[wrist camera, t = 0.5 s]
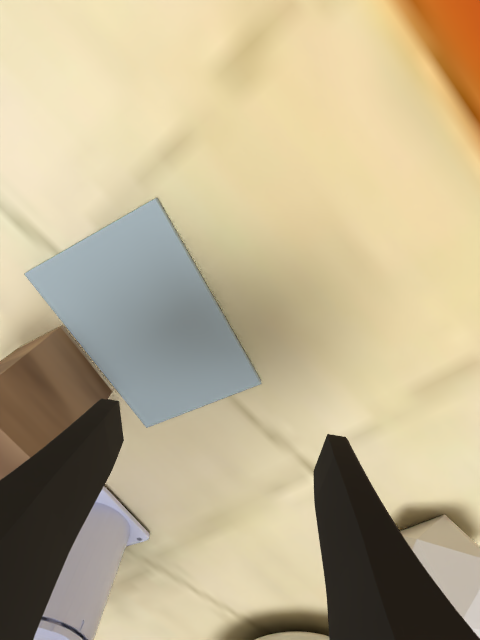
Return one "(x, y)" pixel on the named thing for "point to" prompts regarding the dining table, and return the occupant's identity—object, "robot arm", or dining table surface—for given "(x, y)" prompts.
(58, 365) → the block
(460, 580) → the die
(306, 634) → the serving bowl
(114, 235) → the mat
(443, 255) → the dining table surface
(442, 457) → the dining table surface
